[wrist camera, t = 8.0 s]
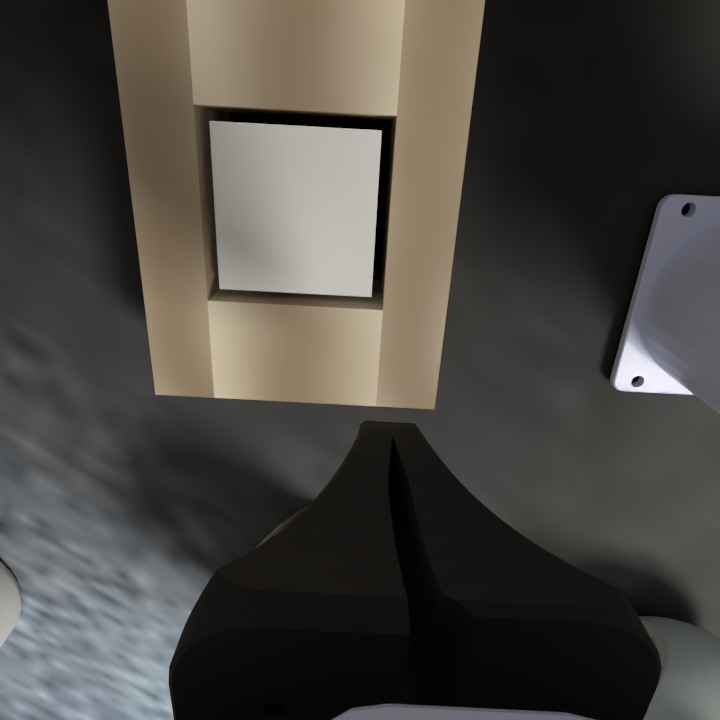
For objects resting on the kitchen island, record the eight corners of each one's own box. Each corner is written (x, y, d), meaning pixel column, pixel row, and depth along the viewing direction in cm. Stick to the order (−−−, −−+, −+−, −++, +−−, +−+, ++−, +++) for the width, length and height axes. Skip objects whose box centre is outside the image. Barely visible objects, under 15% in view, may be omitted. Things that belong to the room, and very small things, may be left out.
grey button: (379, 132, 17) (382, 130, 15) (371, 275, 19) (371, 297, 17) (234, 124, 17) (209, 120, 15) (240, 268, 19) (219, 289, 17)
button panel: (515, -469, 13) (574, -720, 9) (423, 364, 22) (434, 409, 18) (118, -494, 13) (15, -756, 9) (191, 352, 22) (155, 394, 18)
